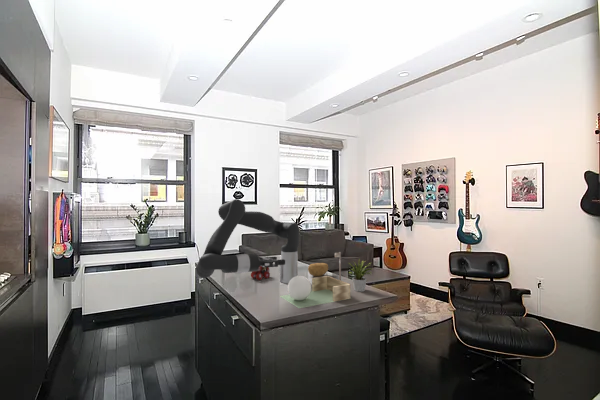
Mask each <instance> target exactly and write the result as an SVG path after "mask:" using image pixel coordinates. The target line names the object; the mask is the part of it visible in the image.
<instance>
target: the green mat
mask: <svg viewBox="0 0 600 400" xmlns="http://www.w3.org/2000/svg"><path fill="white" fill-rule="evenodd" d="M279 297H280V298H281V299H283V300H285V301H286V302H288V303H290V304H291V305H293V306H294V307H296V308H297V309H303V308H310V307H314V306H319V305H325V304H330V303H335V302H337V301H335V302H334V301H333V291H330V290H328V289H325V290H319V291H312V290H311V293H310V295H309V296H308V297H307V298H306V299H304V300H300V301H298V300H295V299H293V298H292V297H291V296H290V295H289V294H284V295H279ZM350 299H351V300H352V297H350ZM350 299H349V300H350ZM345 300H347V299H345ZM345 300H344V301H345ZM340 301H342V300H340ZM340 301H339V302H340Z"/></svg>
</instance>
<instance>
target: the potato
mask: <svg viewBox="0 0 600 400" xmlns="http://www.w3.org/2000/svg"><path fill="white" fill-rule="evenodd" d="M328 270H329V264H328V263H325V262H315V263H311V264H309V265H308V267H307V271H308V274H309V275H311V276H312V277H322V276H325V274H326V273H327V272H328Z"/></svg>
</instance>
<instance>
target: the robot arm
mask: <svg viewBox="0 0 600 400" xmlns="http://www.w3.org/2000/svg"><path fill="white" fill-rule="evenodd" d="M217 211H218V216H219V217H220V219H221V220H223V222H221V223H220V225H219V226H218V227H217V228H216V230H215V231H214V232H213V233H212V234H211V236H210V238H209V240H208V241H207V245H206V247H205V250H204V252H203V254H202V256H200V257H199V260H198V262H197V264H196V267H195V270H196V274H197V276H198V277H200V278H203V279H204V278H205V279H207V278H209V277H210V276H212V275H213V274H214V272H215V270H219V271H221V272H222V273H224V274H232V273H252V272H253V271H257V270H258V269H259V266H262V267H265V268H267V267H269V268H274V267H275V268H277V267H279V282H281V283H283V284H288V283H289V281H290V280H291V279H292V278H293V277H295V276H299V275H298V271H299V269H298V268H299V267H298V264H299V263H298V262H299V261H298V256H299V255H298V252H299V251H298V250H299V244H300V228H299V225H298V223H295V222H282V221H278V220H276V219H274V217H273V216H271V215H270V214H267V213H264V212H262V211H248V210H247V211H246V206H245V203H244V202H243V201H242V200H241V199H237V198H235V199H232V200H228V201H227V202H225V203H223V204H222V205H220V206H219V208H218V210H217ZM237 225H241V226H244V227H246V228H247V227H248V228H250V229H254V230H257V231H260V232H264V233H269V234H273V235H275V236H277V237H279V238H281V239H285V240H287V241H286V242H287V243H285V244H283V245H281V249H280V250H281V251H280V252H281V253H280V254H281V255H280V257H281V259H278V258H277V256H266V255H262V256H259V255H258V254H257V253H254V252H253V253H241V254H236V255H235V254H233V255H232V254H231V255H223V253H224V249H225V248H226V245H227V243H228V241H229V239H230V238H231V235H233V232H234V230H235V228H237Z"/></svg>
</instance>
